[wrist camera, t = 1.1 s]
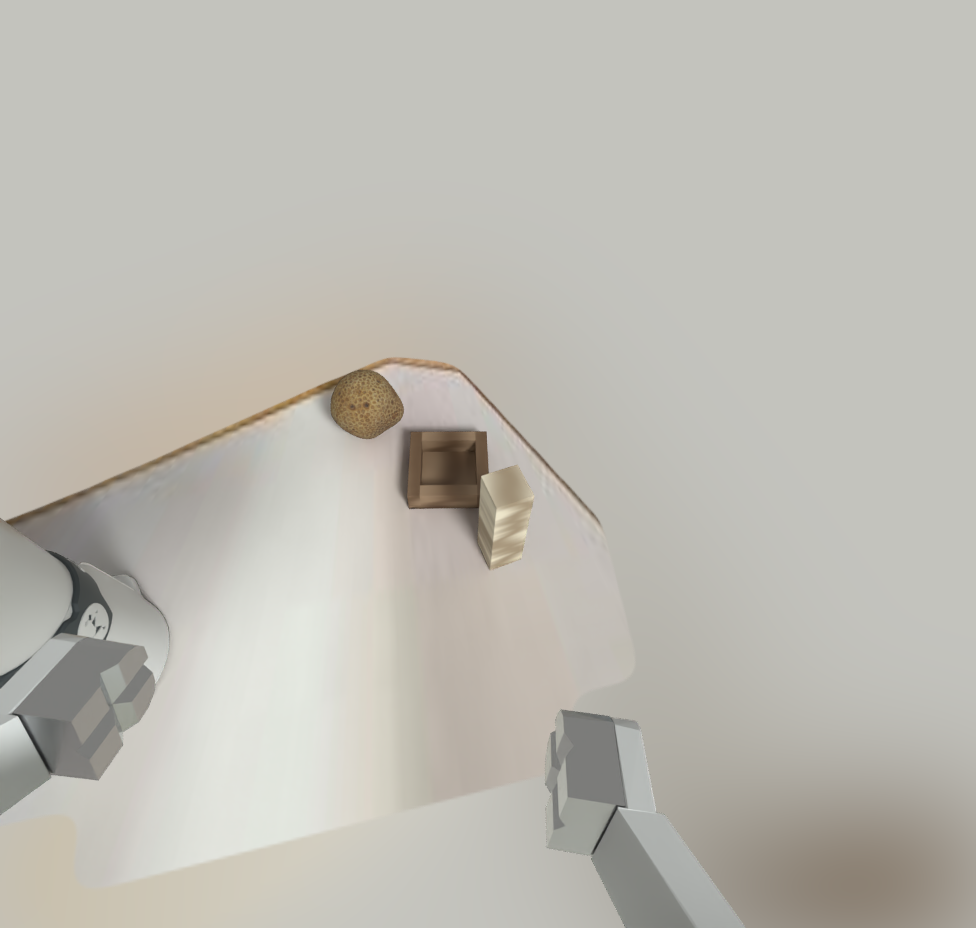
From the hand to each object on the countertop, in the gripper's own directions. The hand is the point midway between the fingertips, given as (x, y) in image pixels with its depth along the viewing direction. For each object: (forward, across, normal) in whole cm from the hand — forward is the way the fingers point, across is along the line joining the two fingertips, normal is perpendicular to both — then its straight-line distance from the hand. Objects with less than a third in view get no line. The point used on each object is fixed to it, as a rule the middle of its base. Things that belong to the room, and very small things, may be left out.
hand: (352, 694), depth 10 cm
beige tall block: (+43, +5, -32) cm, 53 cm away
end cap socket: (+52, -2, -28) cm, 59 cm away
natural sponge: (+58, -15, -27) cm, 65 cm away
